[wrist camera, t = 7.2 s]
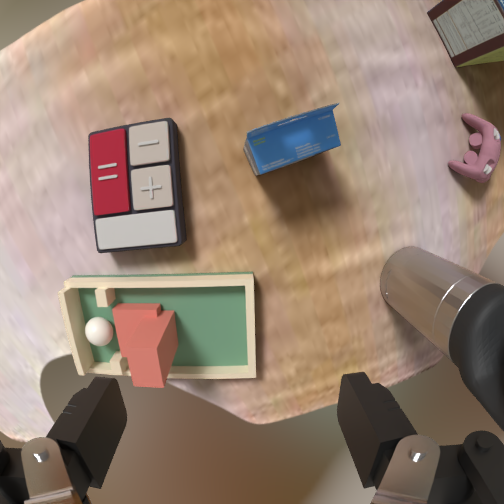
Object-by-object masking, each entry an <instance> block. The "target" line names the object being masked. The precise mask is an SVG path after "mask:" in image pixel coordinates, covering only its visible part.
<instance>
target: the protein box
mask: <svg viewBox="0 0 504 504" xmlns="http://www.w3.org/2000/svg"><path fill="white" fill-rule="evenodd" d="M427 14H428V16H429V17H430V19H431V21H432V22H433V24H434V26H435V28H436V30H437V32H438V33H439V35H440V37H441V39H442V41H443V43H444V45H445V47H446V49H447V51H448V53H449V55H450V57H451V60H452V62H453V64H454V66H455V67H461V66H467V65H474V64H481V63H489V62H498V61H504V0H442V1H441V2H440V3H439V4H437V5H436V6H435V7H433V8H432V9H431V10H430V11H428V12H427Z"/></svg>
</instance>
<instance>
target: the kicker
mask: <svg viewBox="0 0 504 504" xmlns="http://www.w3.org/2000/svg"><path fill="white" fill-rule="evenodd" d="M112 312H113V317H114V323H115V328H116V333H117V338H118V342H119V347H120V351H121V356H122V357H127V360H128V365H129V369H130V373H131V377H132V381H133V385H134V386H140V387H141V386H142V387H157V388H164V386H165V383H166V380H167V377H168V374H169V371H170V368H171V365H172V362H173V359H174V356H175V353H176V350H177V348H178V345H179V344H178V337H177V329H176V321H175V313H174V310H169V311H161V305H160V303H118V304H117V305H116V306H115V307H114V308H113V309H112Z"/></svg>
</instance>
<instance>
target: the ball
mask: <svg viewBox="0 0 504 504" xmlns="http://www.w3.org/2000/svg"><path fill="white" fill-rule="evenodd" d="M85 334H86V337H87V339H88V340H89V342H90V343H92V344H93V345H96V346H104V345H107V344H108V343H109V342H110V341H111V340H112V337H113V327H112V325H111V323H110V322H109V321H108V320H107V319H105V318H103V317H94V318H92V319H90V320H89V321H88V323H87V324H86V327H85Z"/></svg>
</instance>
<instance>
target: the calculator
mask: <svg viewBox="0 0 504 504" xmlns="http://www.w3.org/2000/svg"><path fill="white" fill-rule="evenodd" d="M89 169H90V186H91V200H92V211H93V221H94V230H95V238H96V246H97V251H98V252H99V253H107V252H117V251H128V250H139V249H150V248H161V247H172V246H180V245H181V244H182V243H184V242H185V241H186V228H185V219H184V209H183V204H182V192H181V179H180V165H179V151H178V136H177V124H176V123H175V122H174V121H173V120H172V119H171V118H164V119H158V120H152V121H146V122H140V123H135V124H129V125H124V126H119V127H114V128H109V129H105V130H100V131H96V132H92V133H90V134H89Z"/></svg>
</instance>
